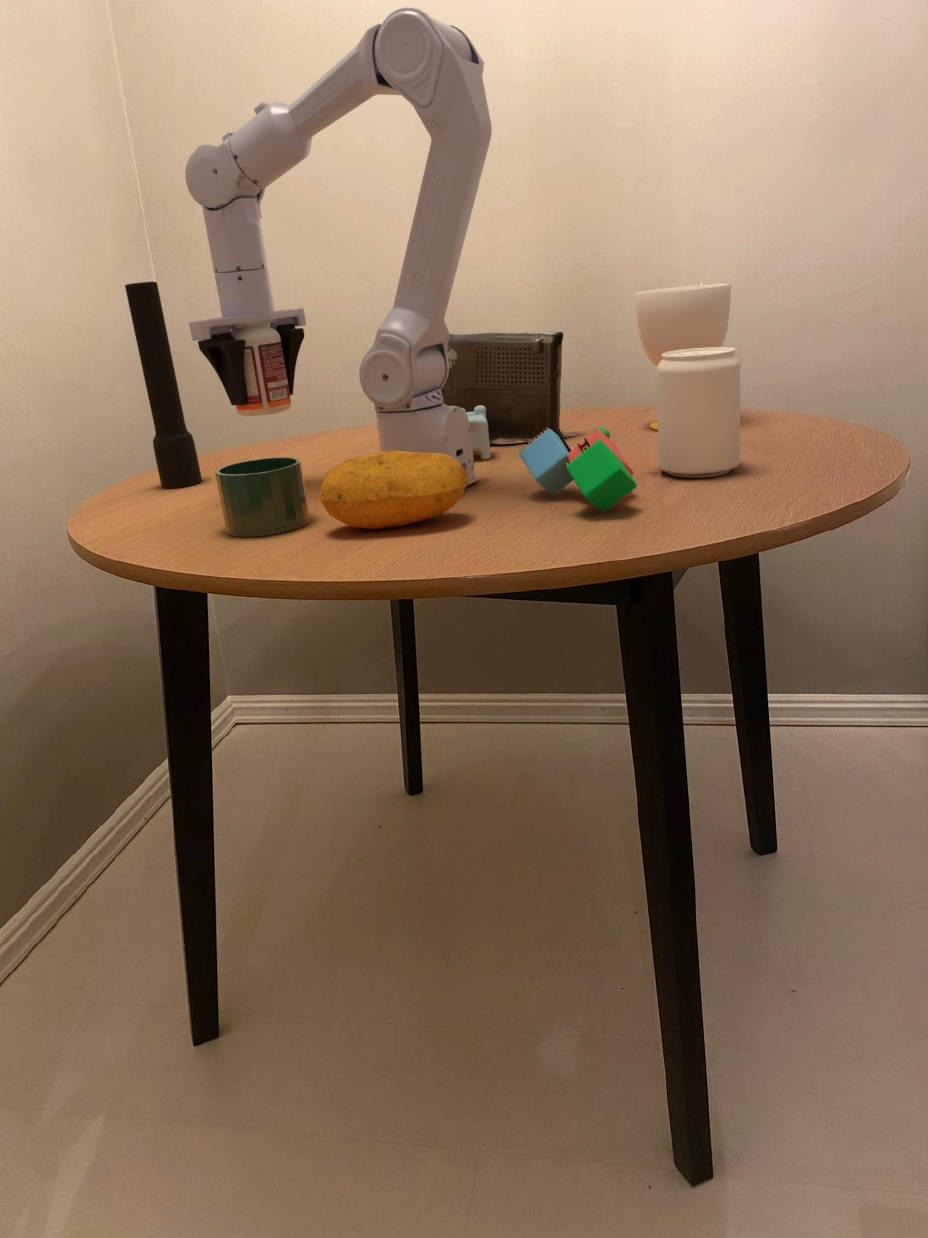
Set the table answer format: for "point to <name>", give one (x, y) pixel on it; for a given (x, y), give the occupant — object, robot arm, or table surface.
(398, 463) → the potato
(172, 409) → the flashlight
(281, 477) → the green round pot
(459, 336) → the radio
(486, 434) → the figurine
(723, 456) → the beverage can
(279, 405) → the pill bottle
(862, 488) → the table surface
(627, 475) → the building blocks
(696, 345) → the cup
